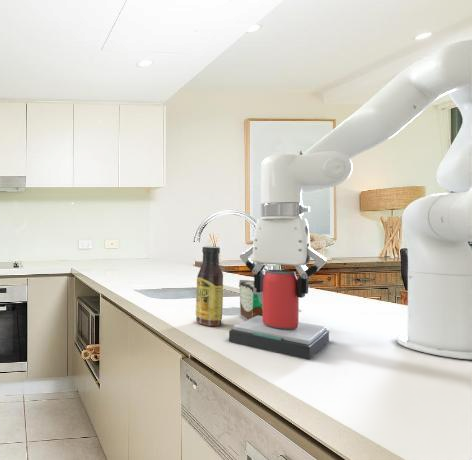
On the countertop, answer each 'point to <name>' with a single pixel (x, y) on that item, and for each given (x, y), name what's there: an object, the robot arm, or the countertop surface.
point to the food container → (250, 300)
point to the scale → (281, 337)
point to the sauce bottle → (209, 289)
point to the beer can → (280, 299)
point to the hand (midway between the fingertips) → (280, 293)
